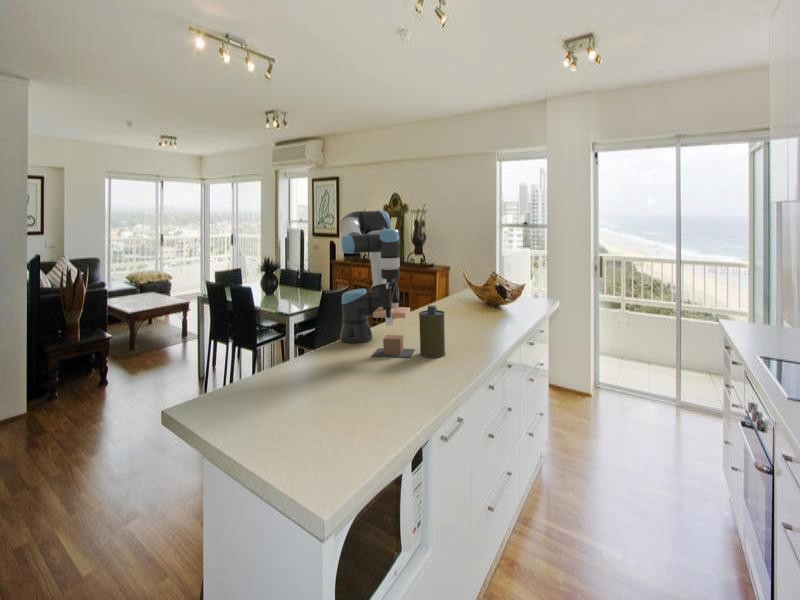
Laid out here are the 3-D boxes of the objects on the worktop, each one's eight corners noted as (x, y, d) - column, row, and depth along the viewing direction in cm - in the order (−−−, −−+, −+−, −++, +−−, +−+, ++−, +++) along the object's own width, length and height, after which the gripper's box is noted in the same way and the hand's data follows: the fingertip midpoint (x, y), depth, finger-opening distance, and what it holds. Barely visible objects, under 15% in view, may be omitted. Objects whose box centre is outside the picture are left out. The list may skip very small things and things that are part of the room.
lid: (373, 317, 172) (373, 312, 171) (379, 311, 182) (379, 307, 182) (405, 318, 169) (405, 313, 169) (410, 312, 180) (410, 307, 179)
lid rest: (371, 357, 174) (370, 340, 173) (378, 349, 185) (377, 333, 184) (410, 358, 171) (410, 341, 170) (415, 350, 182) (414, 334, 181)
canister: (444, 358, 169) (443, 308, 166) (418, 357, 171) (416, 308, 168) (446, 350, 180) (446, 303, 176) (422, 350, 182) (420, 303, 178)
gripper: (387, 265, 184) (389, 315, 188) (373, 272, 162) (376, 328, 166) (405, 264, 183) (406, 315, 187) (393, 271, 160) (395, 329, 164)
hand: (392, 321), depth 176 cm, fingers closed on lid, 11 cm apart
